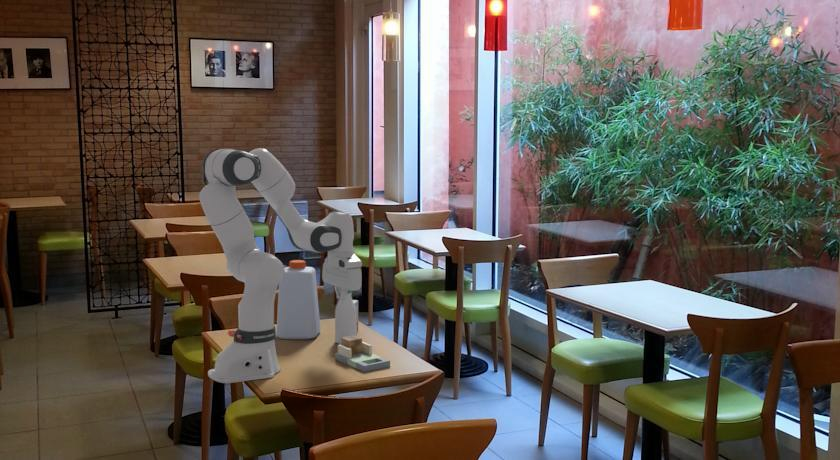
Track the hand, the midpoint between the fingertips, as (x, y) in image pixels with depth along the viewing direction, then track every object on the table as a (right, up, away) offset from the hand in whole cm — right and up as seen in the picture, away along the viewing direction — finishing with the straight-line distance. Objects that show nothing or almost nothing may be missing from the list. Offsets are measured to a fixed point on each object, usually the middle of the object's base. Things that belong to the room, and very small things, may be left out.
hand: (341, 299), depth 284 cm
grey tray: (+8, -20, -8) cm, 23 cm away
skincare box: (+1, -15, +31) cm, 35 cm away
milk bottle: (0, -17, +17) cm, 24 cm away
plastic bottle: (-18, -16, +27) cm, 37 cm away
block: (+4, -18, -3) cm, 18 cm away
